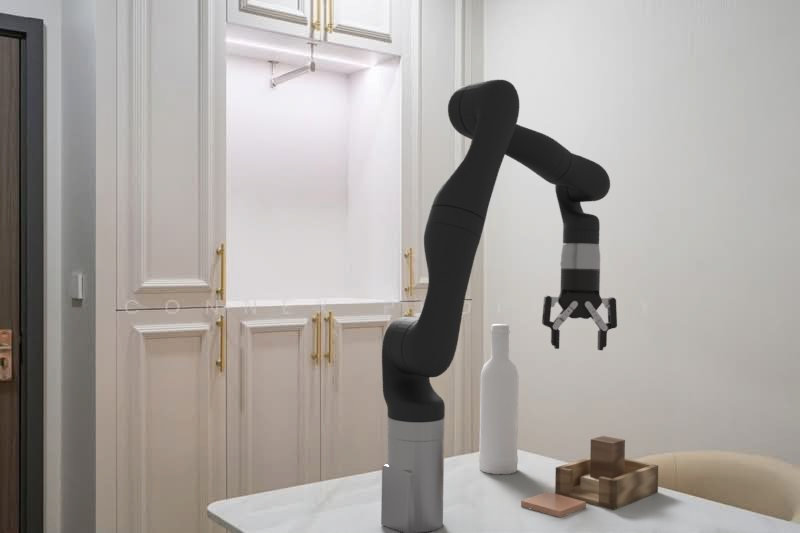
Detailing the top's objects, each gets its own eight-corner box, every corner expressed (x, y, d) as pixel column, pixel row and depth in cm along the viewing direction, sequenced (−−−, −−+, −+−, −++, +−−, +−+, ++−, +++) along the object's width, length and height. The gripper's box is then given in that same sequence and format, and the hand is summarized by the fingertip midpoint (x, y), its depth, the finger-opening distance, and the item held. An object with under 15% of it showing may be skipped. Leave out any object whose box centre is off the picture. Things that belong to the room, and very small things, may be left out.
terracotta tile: (559, 517, 127) (560, 511, 127) (520, 506, 133) (521, 500, 133) (585, 507, 133) (585, 501, 133) (547, 497, 139) (547, 491, 139)
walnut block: (611, 481, 139) (612, 443, 139) (590, 476, 142) (590, 439, 142) (624, 477, 142) (624, 439, 142) (602, 472, 145) (603, 435, 145)
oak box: (613, 509, 132) (614, 481, 132) (555, 494, 141) (555, 467, 141) (657, 492, 143) (658, 465, 143) (601, 478, 152) (601, 453, 152)
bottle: (476, 473, 154) (479, 325, 155) (480, 463, 162) (482, 322, 162) (516, 476, 153) (519, 326, 153) (518, 466, 161) (520, 323, 161)
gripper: (546, 266, 147) (544, 350, 147) (621, 267, 147) (619, 352, 146) (541, 266, 155) (539, 346, 155) (612, 268, 154) (611, 348, 154)
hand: (578, 349), depth 151 cm, fingers open, 8 cm apart
